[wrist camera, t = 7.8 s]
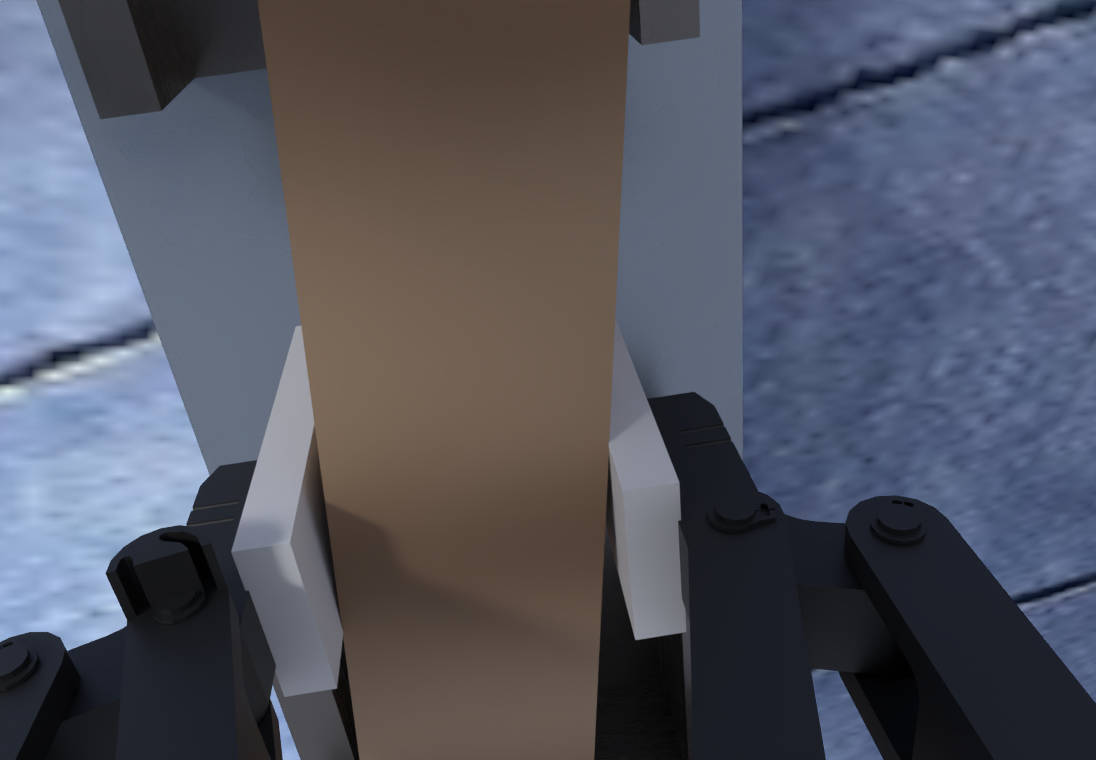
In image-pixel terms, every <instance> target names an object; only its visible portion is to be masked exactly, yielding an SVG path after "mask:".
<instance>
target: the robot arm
mask: <svg viewBox="0 0 1096 760" xmlns="http://www.w3.org/2000/svg"><path fill="white" fill-rule="evenodd" d="M608 446H609V459H608V480H607V501H606V522H605V524H606V528H607V532H608V536H609V540H610V543H611V547H612V551H613V555H614V559H615V563H616V567H617V571H618V575H619V578H620V582H621V586H622V590H623V594H624V598H625V602H626V606H627V610H628V613H629V617H630V621H631V625H632V629H633V633H634V637H635V640H640V639H646V638H652V637H658V636H664V635H671V634H677V633H683V632H686V613H685V609H686V612H687V615H688V618H689V621H690V648H691V687H692V726H693V760H826V759H825V753H824V747H823V741H822V735H821V729H820V723H819V717H818V711H817V705H816V699H815V693H814V687H813V681H812V675H811V669H810V668H815V669H824V670H834V671H839V674H840V677H841V679H842V680H843V682H844V684H845V686H846V688H847V690H848V692H849V694H850V696H851V698H852V700H853V702H854V704H855V705H856V707H857V709H858V711H859V713H860V715H861V717H862V719H863V721H864V723H865V725H866V727H867V729H868V730H869V732H870V734H871V736H872V738H873V740H874V742H875V744H876V746H877V748H878V750H879V752H880V754H881V755H882V757H883V759H884V760H1096V703H1095V702H1094V701H1093V699H1092V698H1091V697H1090V696H1089V694H1088V693H1087V692H1086V691H1085V689H1084V688H1083V687H1082V686H1081V684H1080V683H1079V682H1078V681H1077V679H1076V678H1075V677H1074V676H1073V674H1072V673H1071V672H1070V671H1069V669H1068V668H1067V667H1066V666H1065V664H1064V663H1063V662H1062V661H1061V660H1060V658H1059V657H1058V656H1057V655H1056V653H1055V652H1054V651H1053V650H1052V648H1051V647H1050V646H1049V645H1048V643H1047V642H1046V641H1045V640H1044V638H1043V637H1042V636H1041V635H1040V633H1039V632H1038V631H1037V630H1036V628H1035V627H1034V626H1033V625H1032V623H1031V622H1030V621H1029V620H1028V618H1027V617H1026V616H1025V615H1024V613H1023V612H1022V611H1021V610H1020V609H1019V607H1018V606H1017V605H1016V604H1015V602H1014V601H1013V600H1012V599H1011V597H1010V596H1009V595H1008V594H1007V592H1006V591H1005V590H1004V589H1003V587H1002V586H1001V585H1000V584H999V582H998V581H997V580H996V579H995V577H994V576H993V575H992V574H991V572H990V571H989V570H988V569H987V567H986V566H985V565H984V564H983V562H982V561H981V560H980V559H979V558H978V556H977V555H976V554H975V553H974V551H973V550H972V549H971V548H970V546H969V545H968V544H967V543H966V541H965V540H964V539H963V538H962V536H961V535H960V534H959V533H958V531H957V530H956V529H955V528H954V526H953V525H952V524H951V523H950V521H949V520H948V519H947V518H946V517H945V516H944V515H943V514H941V513H940V512H939V511H938V510H937V509H935V508H934V507H932V506H930V505H928V504H926V503H923V502H921V501H919V500H917V499H912V498H906V497H901V496H877V497H874V498H870V499H867V500H864V501H861V502H860V503H858V504H857V505H856V506H855V507H853V508H852V509H851V510H850V511H849V514H848V517H847V520H846V524H844V523H829V522H815V521H808V520H801V519H798V518H794V517H791V516H788V515H785V514H784V513H783V511H782V509H781V507H780V505H779V504H778V503H777V502H776V501H774V500H773V499H772V498H770V497H769V496H768V495H766V494H763V493H760V492H758V490H757V488H756V486H755V484H754V482H753V480H752V478H751V476H750V474H749V472H748V471H747V469H746V467H745V465H744V463H743V461H742V459H741V457H740V455H739V453H738V451H737V449H736V447H735V445H734V443H733V442H732V441H731V437H730V435H729V433H728V431H727V429H726V427H724V423H723V421H722V419H721V417H720V415H719V413H718V411H717V410H716V408H715V406H714V405H713V404H711V403H710V402H709V401H707V400H706V399H704V398H703V397H701V396H700V395H699V394H697V393H696V392H689V393H682V394H675V395H669V396H662V397H656V398H649V399H647V398H646V396H645V393H644V391H643V388H642V385H641V383H640V380H639V378H638V375H637V373H636V370H635V368H634V365H633V362H632V360H631V357H630V355H629V352H628V350H627V347H626V345H625V342H624V339H623V337H622V334H621V332H620V329H619V327H618V324H617V321H616V319H615V334H614V355H613V376H612V397H611V418H610V438H609V443H608ZM106 575H107V578H108V580H109V582H110V584H111V586H112V588H113V590H114V593H115V595H116V597H117V599H118V601H119V603H120V606H121V608H122V610H123V612H124V614H125V616H126V618H127V626H126V627H124V628H123V629H121V630H119V631H117V632H114V633H112V634H110V635H108V636H106V637H103V638H100V639H98V640H95V641H92V642H90V643H87V644H85V645H82V646H79V647H77V648H74V649H71V650H69V651H67V650H66V648H65V646H64V644H63V642H62V640H61V638H60V637H57V636H55V635H53V634H51V633H49V632H29V633H25V634H21V635H18V636H14V637H10V638H8V639H6V640H4V641H2V642H0V760H283V759H282V750H281V740H280V731H279V721H278V718H277V716H276V713H275V710H274V708H273V705H272V702H271V700H270V695H271V690H272V685H273V679H274V674H275V673H276V675H277V678H278V681H279V683H280V686H281V689H282V692H283V694H284V697H288V696H294V695H300V694H306V693H312V692H319V691H325V690H331V689H337V685H338V676H339V667H340V658H341V649H342V640H343V629H342V625H341V617H340V610H339V602H338V595H337V587H336V580H335V572H334V565H333V558H332V550H331V543H330V535H329V528H328V520H327V513H326V505H325V498H324V491H323V483H322V476H321V468H320V461H319V453H318V446H317V438H316V431H315V424H314V416H313V409H312V401H311V394H310V386H309V379H308V371H307V364H306V357H305V349H304V342H303V334H302V327H301V326H296V327H295V331H294V334H293V338H292V341H291V345H290V348H289V352H288V355H287V359H286V362H285V366H284V369H283V373H282V376H281V380H280V383H279V387H278V390H277V394H276V397H275V401H274V404H273V408H272V411H271V415H270V418H269V422H268V425H267V429H266V432H265V436H264V439H263V443H262V446H261V450H260V453H259V457H258V460H254V461H247V462H241V463H234V464H228V465H221V466H219V467H218V468H217V469H216V470H215V471H214V472H213V473H212V474H211V475H210V476H209V477H208V478H207V480H206V481H205V482H204V483H203V484H202V485H201V486H200V488H199V491H198V494H197V497H196V499H195V502H194V505H193V511H191V513H190V516H189V518H188V521H187V526H181V525H179V526H173V527H167V528H161V529H158V530H155V531H153V532H150V533H148V534H145V535H143V536H140V537H139V538H137V539H136V540H134V541H132V542H131V543H129V544H128V545H126V546H125V547H123V548H122V549H121V550H120V551H119V553H118V554H117V555H116V556H115V557H114V558H113V559H112V560H111V562H110V564H109V567H108V569H107V571H106Z"/></svg>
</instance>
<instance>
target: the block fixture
mask: <svg viewBox="0 0 1096 760" xmlns="http://www.w3.org/2000/svg"><path fill="white" fill-rule="evenodd" d="M37 3H38V6H39V8H40V11H41V14H42V16H43V19H44V22H45V25H46V27H47V30H48V33H49V36H50V38H51V41H52V44H53V47H54V49H55V52H56V55H57V58H58V60H59V63H60V66H61V69H62V71H63V74H64V77H65V80H66V82H67V85H68V88H69V91H70V93H71V96H72V99H73V101H74V104H75V107H76V110H77V112H78V115H79V118H80V121H81V123H82V126H83V129H84V132H85V134H86V137H87V140H88V143H89V145H90V148H91V151H92V154H93V156H94V159H95V162H96V165H97V167H98V170H99V173H100V176H101V178H102V181H103V184H104V187H105V189H106V192H107V195H108V197H109V200H110V203H111V206H112V208H113V211H114V214H115V217H116V219H117V222H118V225H119V228H120V230H121V233H122V236H123V239H124V241H125V244H126V247H127V250H128V252H129V255H130V258H131V261H132V263H133V266H134V269H135V272H136V274H137V277H138V280H139V282H140V285H141V288H142V291H143V293H144V296H145V299H146V302H147V304H148V307H149V310H150V313H151V315H152V318H153V321H154V324H155V326H156V329H157V332H158V335H159V337H160V340H161V343H162V346H163V348H164V351H165V354H166V357H167V359H168V362H169V365H170V367H171V370H172V373H173V376H174V378H175V381H176V384H177V387H178V389H179V392H180V395H181V398H182V400H183V403H184V406H185V409H186V411H187V414H188V417H189V420H190V422H191V425H192V428H193V431H194V433H195V436H196V439H197V442H198V444H199V447H200V450H201V453H202V455H203V458H204V461H205V463H206V466H207V469H208V472H209V474H210V475H211V474H212V473H213V472H214V471H215V470H216V469H217V468H218V467H219V466H221V465H228V464H234V463H241V462H247V461H254V460H258V457H259V453H260V450H261V446H262V443H263V439H264V436H265V432H266V429H267V425H268V422H269V418H270V415H271V411H272V408H273V404H274V401H275V397H276V394H277V390H278V387H279V383H280V380H281V376H282V373H283V369H284V366H285V362H286V359H287V355H288V352H289V348H290V345H291V341H292V338H293V334H294V331H295V327H296V326H301V319H300V312H299V305H298V297H297V290H296V282H295V275H294V267H293V260H292V252H291V245H290V238H289V230H288V223H287V215H286V208H285V200H284V193H283V185H282V178H281V171H280V163H279V156H278V148H277V141H276V133H275V126H274V118H273V111H272V104H271V96H270V89H269V81H268V74H267V66H266V59H265V51H264V44H263V37H262V29H261V22H260V14H259V7H258V0H37ZM615 319H616V321H617V324H618V327H619V329H620V332H621V334H622V337H623V339H624V342H625V345H626V347H627V350H628V352H629V355H630V357H631V360H632V362H633V365H634V368H635V370H636V373H637V375H638V378H639V380H640V383H641V385H642V388H643V391H644V393H645V396H646V398H647V399H649V398H656V397H662V396H669V395H675V394H682V393H689V392H696V393H697V394H699V395H700V396H701V397H703V398H704V399H706V400H707V401H709V402H710V403H711V404H713V405H714V406H715V408H716V410H717V411H718V413H719V415H720V417H721V419H722V421H723V423H724V427H726V429H727V431H728V433H729V435H730V437H731V441H732V442H733V443H734V445H735V447H736V449H737V451H738V453H739V455H740V457H741V459H742V461H743V226H742V0H631V1H630V21H629V42H628V63H627V84H626V105H625V126H624V147H623V167H622V188H621V209H620V230H619V251H618V272H617V293H616V313H615ZM685 613H686V632H683V633H677V634H671V635H664V636H658V637H652V638H646V639H640V640H635V637H634V633H633V629H632V625H631V621H630V617H629V613H628V610H627V606H626V602H625V598H624V594H623V590H622V586H621V582H620V578H619V575H618V571H617V567H616V563H615V559H614V555H613V551H612V547H611V543H610V540H609V536H608V532H607V528H606V524H605V543H604V564H603V584H602V605H601V626H600V647H599V668H598V689H597V710H596V730H595V751H594V760H693V726H692V687H691V648H690V621H689V618H688V615H687V612H686V609H685ZM273 687H274V690H275V692H276V695H277V698H278V700H279V703H280V706H281V708H282V711H283V714H284V716H285V719H286V722H287V724H288V727H289V730H290V732H291V735H292V738H293V740H294V743H295V746H296V748H297V751H298V754H299V756H300V759H301V760H360V759H359V751H358V744H357V736H356V729H355V721H354V714H353V706H352V699H351V692H350V684H349V677H348V669H347V662H346V654H345V647H344V639H343V640H342V649H341V658H340V667H339V676H338V685H337V689H331V690H325V691H319V692H312V693H306V694H300V695H294V696H288V697H284V694H283V692H282V689H281V686H280V683H279V681H278V678H277V675H276V673H275V674H274V679H273Z"/></svg>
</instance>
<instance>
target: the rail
mask: <svg viewBox="0 0 1096 760" xmlns="http://www.w3.org/2000/svg"><path fill="white" fill-rule="evenodd" d="M630 1H631V0H258V7H259V14H260V22H261V29H262V37H263V44H264V51H265V59H266V66H267V74H268V81H269V89H270V96H271V104H272V111H273V118H274V126H275V133H276V141H277V148H278V156H279V163H280V171H281V178H282V185H283V193H284V200H285V208H286V215H287V223H288V230H289V238H290V245H291V252H292V260H293V267H294V275H295V282H296V290H297V297H298V305H299V312H300V319H301V327H302V334H303V342H304V349H305V357H306V364H307V371H308V379H309V386H310V394H311V401H312V409H313V416H314V424H315V431H316V438H317V446H318V453H319V461H320V468H321V476H322V483H323V491H324V498H325V505H326V513H327V520H328V528H329V535H330V543H331V550H332V558H333V565H334V572H335V580H336V587H337V595H338V602H339V610H340V617H341V625H342V629H343V639H344V647H345V654H346V662H347V669H348V677H349V684H350V692H351V699H352V706H353V714H354V721H355V729H356V736H357V744H358V751H359V759H360V760H594V751H595V730H596V710H597V689H598V668H599V647H600V626H601V605H602V584H603V564H604V543H605V522H606V501H607V480H608V459H609V446H608V443H609V438H610V418H611V397H612V376H613V355H614V334H615V313H616V293H617V272H618V251H619V230H620V209H621V188H622V167H623V147H624V126H625V105H626V84H627V63H628V42H629V21H630Z"/></svg>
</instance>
